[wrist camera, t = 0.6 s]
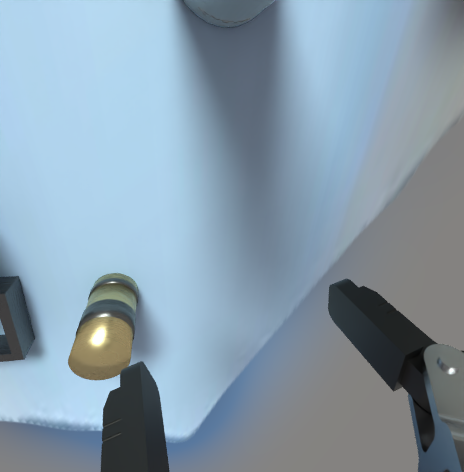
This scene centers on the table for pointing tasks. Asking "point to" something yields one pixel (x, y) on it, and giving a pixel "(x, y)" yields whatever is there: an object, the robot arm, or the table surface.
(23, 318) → the shaft rig
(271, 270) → the table surface
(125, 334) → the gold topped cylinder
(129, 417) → the robot arm
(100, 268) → the table surface
